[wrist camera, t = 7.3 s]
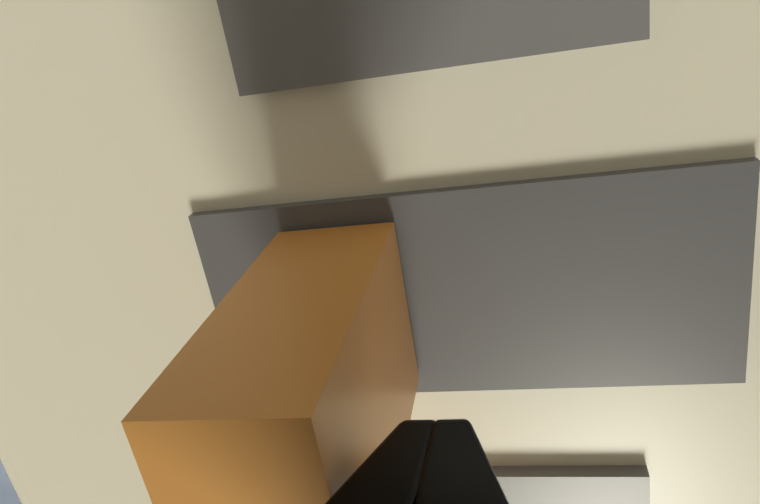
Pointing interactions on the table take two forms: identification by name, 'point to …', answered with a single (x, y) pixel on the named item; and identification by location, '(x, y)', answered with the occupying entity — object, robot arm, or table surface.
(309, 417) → the switch
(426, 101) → the breaker board
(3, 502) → the table surface
